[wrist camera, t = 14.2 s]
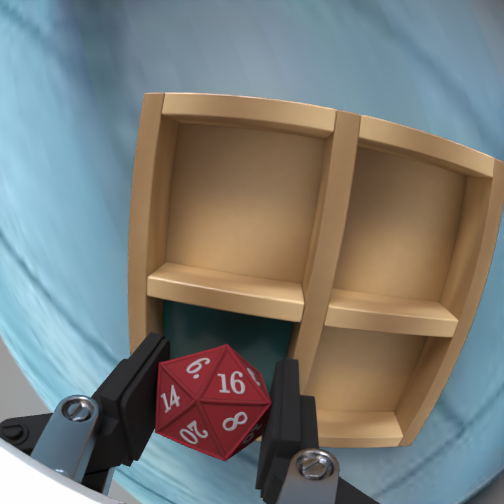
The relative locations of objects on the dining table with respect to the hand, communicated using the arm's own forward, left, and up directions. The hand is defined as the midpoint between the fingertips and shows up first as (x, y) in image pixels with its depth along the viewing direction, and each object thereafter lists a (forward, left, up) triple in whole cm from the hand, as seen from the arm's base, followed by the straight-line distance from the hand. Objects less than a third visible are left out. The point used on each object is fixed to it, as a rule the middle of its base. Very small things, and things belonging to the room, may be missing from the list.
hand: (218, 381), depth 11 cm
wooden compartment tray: (-3, -3, -3) cm, 5 cm away
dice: (0, 0, -1) cm, 1 cm away
